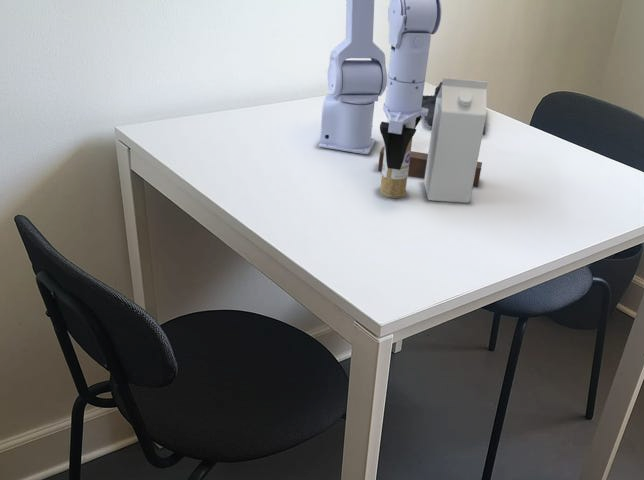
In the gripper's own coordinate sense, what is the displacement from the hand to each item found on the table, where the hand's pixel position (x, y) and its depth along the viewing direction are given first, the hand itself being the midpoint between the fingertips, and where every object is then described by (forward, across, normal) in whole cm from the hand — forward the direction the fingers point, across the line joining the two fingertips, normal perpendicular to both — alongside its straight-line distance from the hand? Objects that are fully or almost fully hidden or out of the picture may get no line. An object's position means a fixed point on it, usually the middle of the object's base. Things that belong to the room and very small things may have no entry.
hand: (396, 162), depth 118 cm
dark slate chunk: (+6, +45, -6) cm, 45 cm away
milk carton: (+6, +4, -9) cm, 11 cm away
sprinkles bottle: (+6, 0, 0) cm, 6 cm away
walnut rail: (+5, +10, -5) cm, 13 cm away
